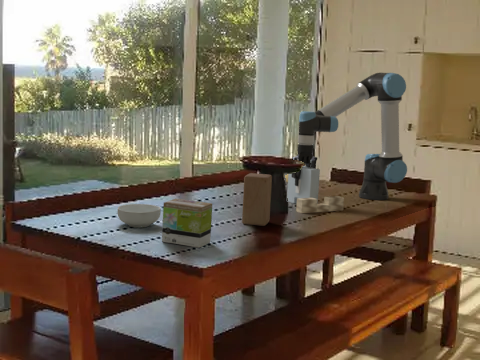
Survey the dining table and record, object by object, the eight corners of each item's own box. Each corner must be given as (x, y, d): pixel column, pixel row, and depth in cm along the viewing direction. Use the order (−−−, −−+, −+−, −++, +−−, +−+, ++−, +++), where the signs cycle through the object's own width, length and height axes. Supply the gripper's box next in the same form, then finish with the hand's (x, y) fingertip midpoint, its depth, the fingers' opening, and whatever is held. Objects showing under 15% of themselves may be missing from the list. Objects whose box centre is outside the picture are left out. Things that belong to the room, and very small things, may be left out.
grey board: (286, 201, 358) (288, 164, 355) (295, 200, 360) (297, 164, 358) (308, 207, 342) (311, 169, 340) (317, 207, 345) (319, 169, 342)
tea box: (161, 242, 259) (162, 201, 257) (173, 237, 268) (175, 197, 266) (199, 248, 253) (201, 206, 251) (211, 242, 263) (213, 202, 261)
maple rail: (337, 208, 344) (338, 196, 343) (343, 210, 341) (344, 197, 340) (296, 211, 331) (296, 198, 331) (301, 213, 328) (302, 200, 327)
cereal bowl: (121, 219, 294) (122, 202, 293) (162, 222, 294) (163, 204, 293) (113, 228, 277) (113, 210, 276) (156, 231, 277) (157, 212, 276)
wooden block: (265, 226, 295) (268, 177, 292) (241, 224, 297) (243, 175, 294) (269, 222, 305) (272, 174, 302) (246, 219, 307) (248, 172, 304)
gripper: (316, 143, 355) (312, 190, 358) (285, 143, 346) (282, 192, 349) (325, 144, 349) (322, 192, 352) (294, 145, 339) (291, 194, 343)
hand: (302, 192), depth 350 cm, fingers closed on grey board, 5 cm apart
